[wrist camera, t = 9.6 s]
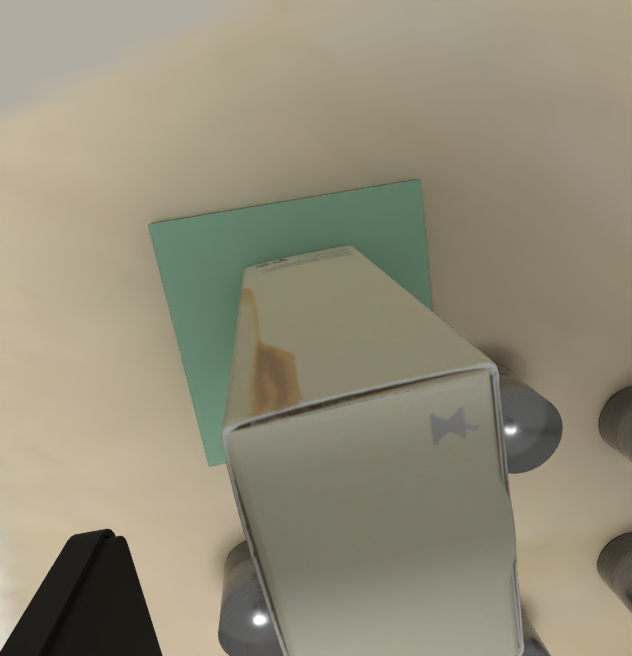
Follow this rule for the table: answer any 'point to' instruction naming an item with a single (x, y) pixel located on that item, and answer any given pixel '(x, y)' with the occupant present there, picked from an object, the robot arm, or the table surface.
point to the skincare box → (369, 466)
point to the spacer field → (522, 455)
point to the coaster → (267, 245)
